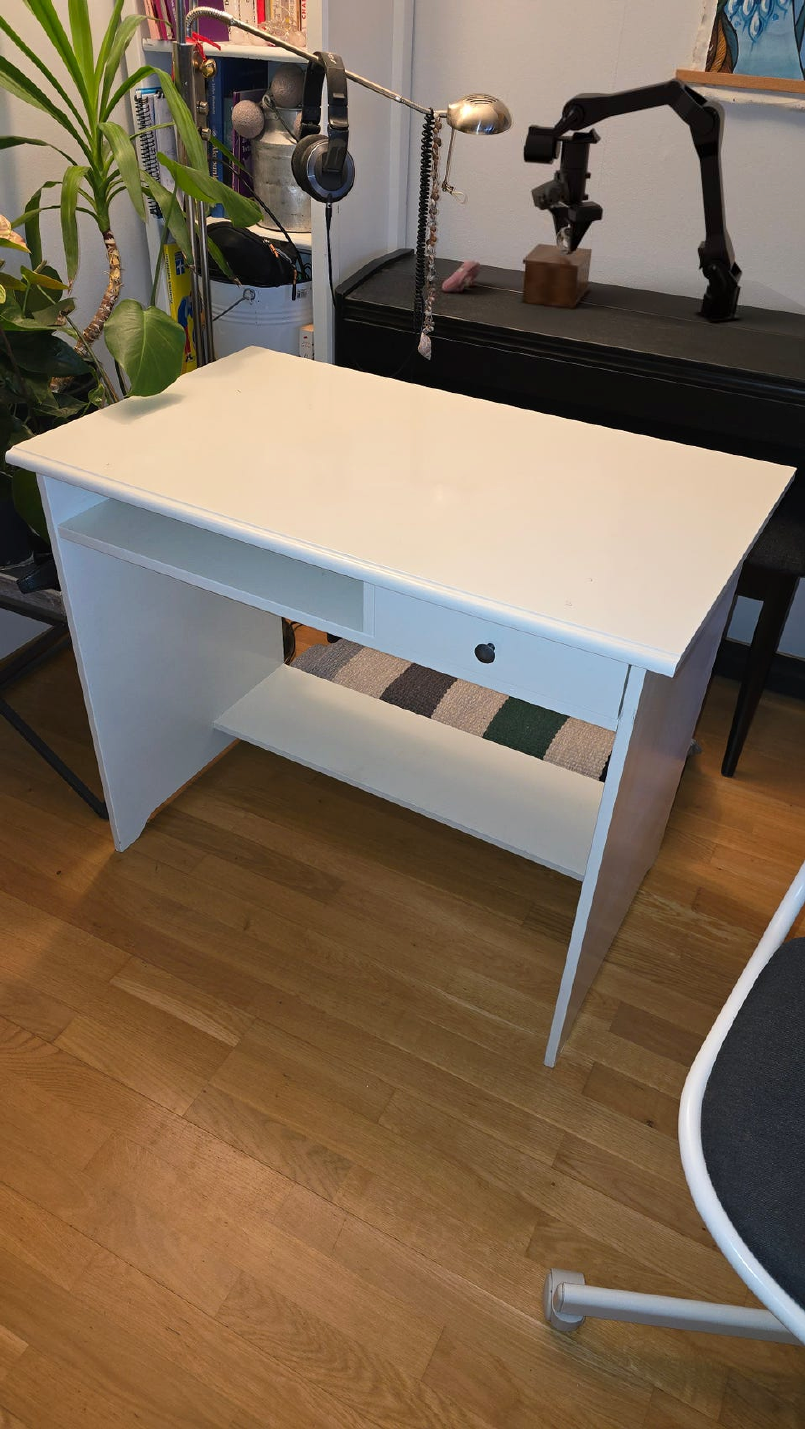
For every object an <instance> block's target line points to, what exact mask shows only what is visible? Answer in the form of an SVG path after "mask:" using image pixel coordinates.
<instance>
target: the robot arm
mask: <svg viewBox="0 0 805 1429" xmlns="http://www.w3.org/2000/svg"><path fill="white" fill-rule="evenodd" d="M662 106H668V107H669V108H671V109H672V110H673V111H674V112H675V114H676V115H677V116H678V117H679V118H680V120H682V121H683V122H684V123H685V124H686V125H687V126H689V131H690V135H691V139H692V144H693V147H694V149H695V152H696V155H697V157H698V160H699V169H700V180H701V191H702V206H703V217H704V228H705V239H704V240H701V241H700V244H699V245H698V248H697V255H698V258H699V266H698V270H699V271H700V270H701V271H702V275H703V277H704V278H705V279H706V280H708V284H707V285H706V291H705V293H704V294H703V296H702V297H703V298H702V303H701V308H700V309H698V310H697V314H698V315H700V316H702V317H703V318H705V319H707V320H709V321H710V322H712V323H719V322H727V321H734V320H739V319H740V316H739V315H738V314H736V311H737V307H738V303H739V298H740V293H741V290H742V286H740V285H739V283H740V280H741V278H742V275H743V273H744V272H743V270H742V269H741V267H740V266H739V265H738V263H737V261H736V254H735V249H734V246H733V241H732V239H731V236H730V233H729V230H728V228H727V220H726V207H725V205H726V204H725V193H724V180H723V167H722V146H723V141H724V140H723V139H724V132H725V131H724V130H725V121H726V120H725V118H726V112H725V108H724V107H723V105H722V104H721V103H719V102H718V101H715V100H708V98H706V97H705V96H703V95H702V94H701V93H699V92H698V91H696V90H695V89H693V88H691V87H690V86H689V85H687V83H685V82H684V81H683V80H682V79H681V78H679V77H674V78H671V79H669V80H666V81H662V82H657V83H652V84H648V85H644V86H639V87H634V88H631V89H626V90H621V91H617V92H612V93H602V92H581V93H580V92H579V93H578V94H575V95H574V96H573V97H571V98H570V99H569V100H567V101H566V102H565V105H564V106H563V107H562V111H561V118H560V119H559V120H558V122H556V124H554V126H541V125H538V124H531V125H529V127H528V129H527V130H528V131H527V134H526V138H525V143H524V146H523V161H524V163H527V164H539V165H553V164H554V161H555V160H559V158H560V161H559V169H555V172H554V173H553V179H552V180H549V181H546V182H544V183H542V184H540V185H538V186H536V187H534V188H532V189H531V191H530V194H531V196H532V201H533V205H534V207H535V208H538V209H539V210H540V211H545V210H547V212H549V214H550V215H551V217H552V221H553V226H554V232H555V237H556V236H557V234H558V233H559V232H560V230H561V229H562V228H564V227H570V251H576V249H577V248H579V245H580V244H581V242H582V240H583V239H584V236H585V235H586V233H587V231H588V230H589V228H590V227H591V225H592V224H593V222H596V221H602V220H603V214H604V209H603V207H602V206H601V205H600V204H598V203H597V202H595V201H593V200H590V201H589V198H590V195H589V194H588V193H587V192H586V189H587V187H586V186H587V180H589V179H591V178H592V177H591V176H592V173H591V172H590V171H589V170H588V169H589V159H590V150H591V145H596V144H598V143H599V142H600V141H601V140H602V137H601V136H600V135H599V134H598V132H597V131H596V129H595V128H594V127H592V128H591V129H590V130H589V131H588V132H586V131H582V130H584V129H586V128H588V127H591V126H593V125H596V124H598V123H600V122H602V121H605V120H606V119H609V118H611V117H616V116H620V115H625V114H630V113H634V112H639V111H645V110H649V109H654V108H658V107H662ZM570 131H571V132H573V133H572V135H565V134H566V133H568V132H570ZM562 240H563V241H565V239H564V238H562Z"/></svg>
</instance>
